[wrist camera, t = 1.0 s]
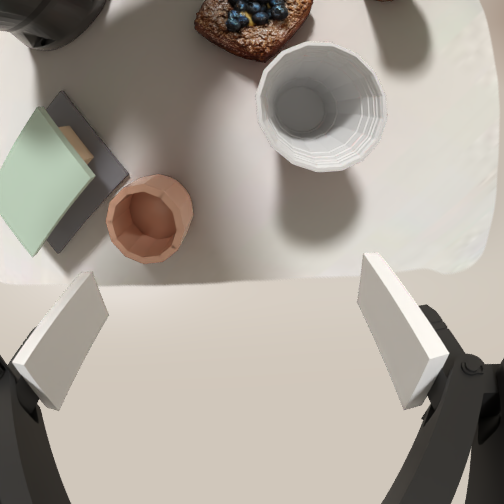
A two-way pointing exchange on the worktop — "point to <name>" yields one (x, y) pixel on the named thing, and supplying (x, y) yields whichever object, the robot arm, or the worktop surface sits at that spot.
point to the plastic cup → (321, 106)
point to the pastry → (251, 25)
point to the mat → (96, 159)
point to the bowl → (150, 218)
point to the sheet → (40, 181)
